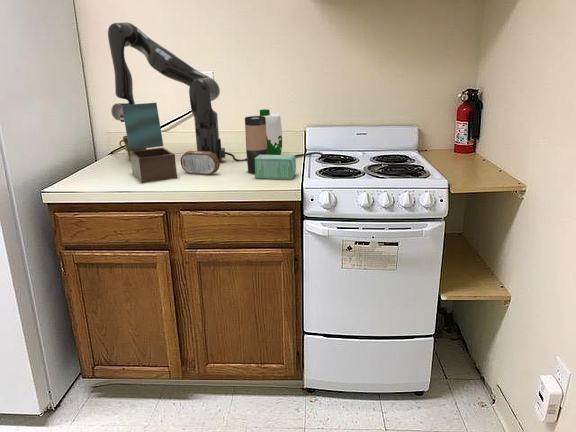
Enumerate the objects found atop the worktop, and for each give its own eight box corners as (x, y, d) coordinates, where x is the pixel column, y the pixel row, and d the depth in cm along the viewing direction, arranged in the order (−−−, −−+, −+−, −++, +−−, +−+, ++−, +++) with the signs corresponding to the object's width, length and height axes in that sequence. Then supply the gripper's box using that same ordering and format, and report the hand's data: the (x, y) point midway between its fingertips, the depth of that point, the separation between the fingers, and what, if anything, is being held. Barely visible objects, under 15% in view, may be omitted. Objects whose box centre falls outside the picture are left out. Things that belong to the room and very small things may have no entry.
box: (292, 179, 171) (292, 158, 169) (254, 179, 174) (253, 158, 172) (296, 174, 178) (295, 154, 176) (259, 174, 181) (258, 154, 178)
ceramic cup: (140, 156, 219) (137, 133, 216) (154, 158, 213) (152, 135, 210) (114, 161, 209) (111, 138, 206) (129, 164, 203) (126, 140, 200)
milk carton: (261, 156, 210) (259, 108, 204) (282, 156, 210) (281, 108, 204) (260, 161, 202) (257, 111, 196) (282, 160, 202) (280, 110, 195)
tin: (220, 174, 183) (219, 151, 180) (216, 176, 180) (215, 153, 177) (184, 172, 187) (182, 149, 185) (180, 173, 185) (178, 151, 182)
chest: (177, 178, 178) (174, 154, 176) (141, 183, 173) (138, 158, 170) (165, 170, 192) (163, 147, 189) (132, 174, 186) (129, 151, 183)
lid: (156, 102, 186) (155, 102, 187) (121, 105, 181) (121, 105, 182) (163, 146, 188) (163, 146, 189) (129, 149, 183) (129, 150, 184)
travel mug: (271, 170, 186) (269, 116, 180) (262, 174, 180) (259, 119, 174) (253, 168, 190) (250, 115, 183) (243, 173, 183) (240, 118, 177)
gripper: (113, 106, 196) (121, 110, 181) (147, 104, 201) (157, 108, 187) (116, 126, 198) (124, 131, 183) (149, 123, 204) (160, 128, 189)
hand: (141, 119), depth 185 cm, fingers closed
